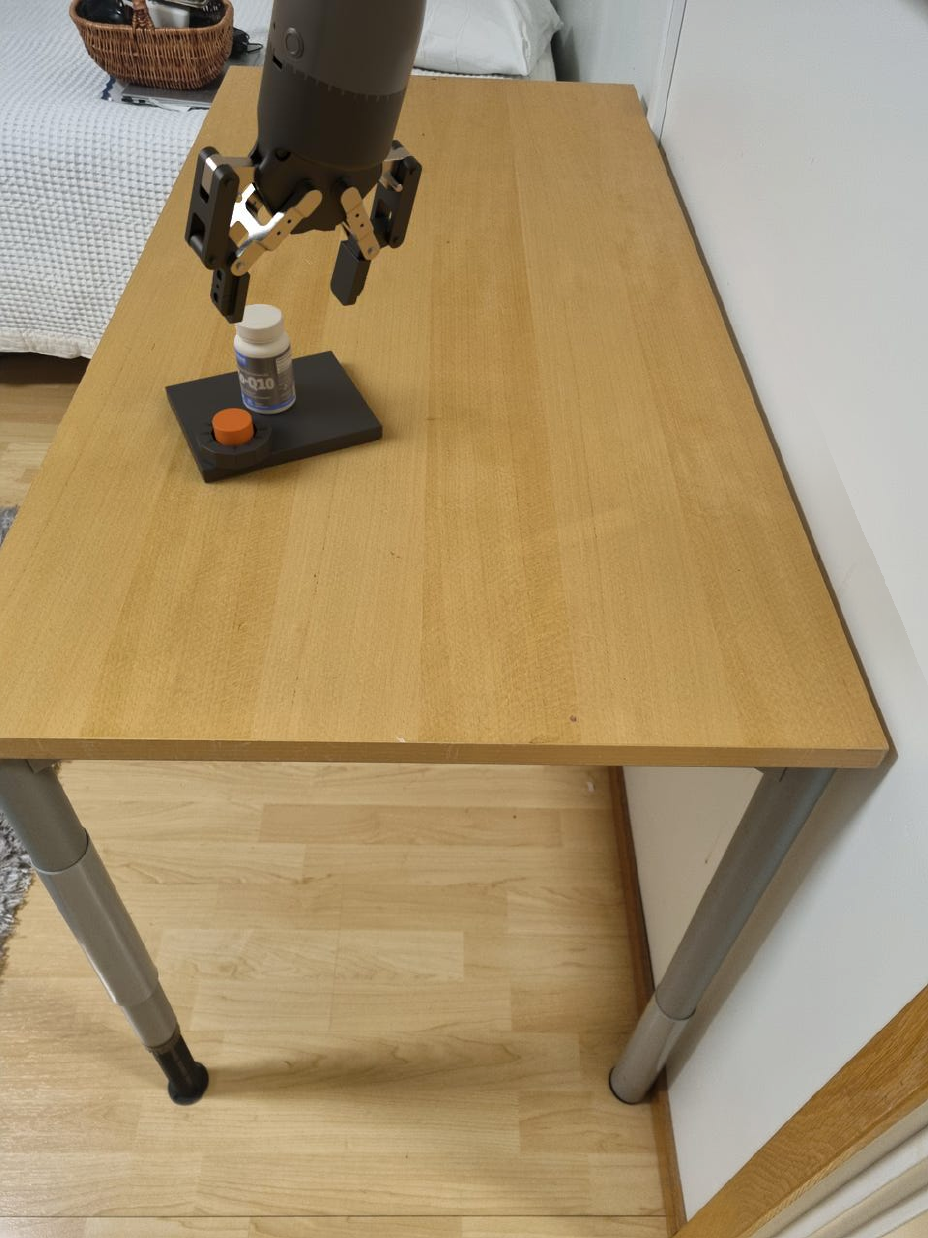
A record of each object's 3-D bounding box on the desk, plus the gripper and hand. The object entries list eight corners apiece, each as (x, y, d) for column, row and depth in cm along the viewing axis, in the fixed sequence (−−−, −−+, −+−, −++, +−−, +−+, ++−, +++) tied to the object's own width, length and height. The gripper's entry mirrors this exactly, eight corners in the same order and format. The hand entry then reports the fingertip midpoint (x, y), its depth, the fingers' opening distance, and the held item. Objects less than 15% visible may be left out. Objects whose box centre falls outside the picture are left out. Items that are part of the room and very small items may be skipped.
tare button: (221, 450, 77) (218, 434, 76) (210, 428, 79) (207, 413, 77) (258, 440, 78) (256, 425, 77) (247, 419, 80) (245, 404, 78)
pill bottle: (232, 407, 83) (217, 322, 76) (260, 380, 86) (247, 295, 79) (280, 421, 82) (268, 335, 75) (306, 392, 85) (297, 308, 78)
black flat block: (208, 491, 77) (202, 462, 75) (167, 399, 86) (160, 370, 83) (387, 445, 82) (386, 417, 80) (332, 362, 91) (330, 334, 88)
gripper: (410, 17, 54) (346, 260, 66) (181, 3, 46) (157, 282, 58) (484, 89, 52) (404, 328, 64) (256, 88, 43) (215, 361, 56)
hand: (286, 306), depth 61 cm, fingers open, 8 cm apart
